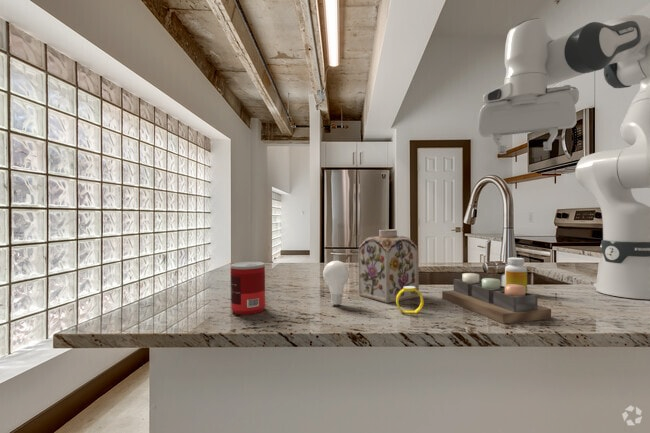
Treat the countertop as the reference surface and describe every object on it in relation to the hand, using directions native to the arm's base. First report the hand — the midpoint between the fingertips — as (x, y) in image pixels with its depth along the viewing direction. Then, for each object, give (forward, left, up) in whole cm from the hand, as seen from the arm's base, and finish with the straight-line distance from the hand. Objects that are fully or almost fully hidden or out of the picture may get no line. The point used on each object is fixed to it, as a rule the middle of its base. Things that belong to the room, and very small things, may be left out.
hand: (524, 151), depth 88 cm
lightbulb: (+41, -15, -37) cm, 57 cm away
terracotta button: (+7, +5, -33) cm, 34 cm away
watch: (+27, -4, -37) cm, 46 cm away
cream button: (+7, -10, -33) cm, 35 cm away
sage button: (+7, -2, -33) cm, 34 cm away
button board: (+7, -2, -36) cm, 37 cm away
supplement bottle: (-9, -12, -37) cm, 39 cm away
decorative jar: (+25, -20, -37) cm, 49 cm away
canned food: (+62, -17, -37) cm, 74 cm away
